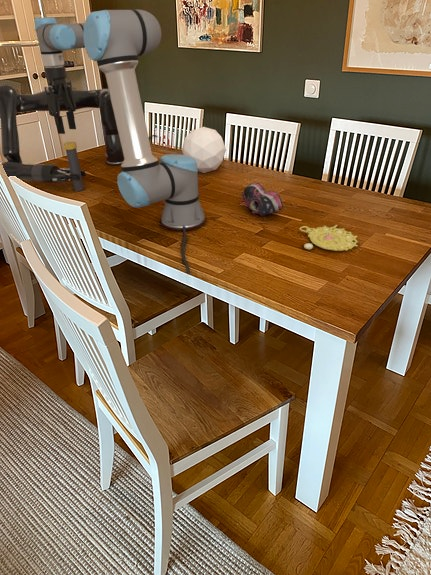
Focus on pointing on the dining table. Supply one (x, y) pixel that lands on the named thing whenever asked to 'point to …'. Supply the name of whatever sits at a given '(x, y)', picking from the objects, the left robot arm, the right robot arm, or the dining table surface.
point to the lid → (70, 145)
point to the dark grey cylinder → (75, 169)
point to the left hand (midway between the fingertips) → (82, 175)
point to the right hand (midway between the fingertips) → (67, 131)
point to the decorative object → (330, 238)
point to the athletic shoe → (261, 200)
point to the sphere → (204, 148)
